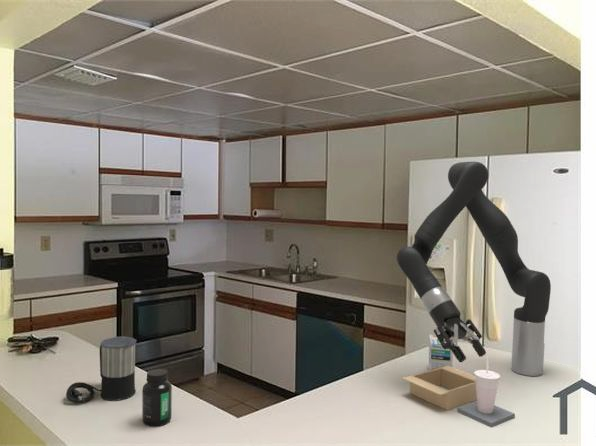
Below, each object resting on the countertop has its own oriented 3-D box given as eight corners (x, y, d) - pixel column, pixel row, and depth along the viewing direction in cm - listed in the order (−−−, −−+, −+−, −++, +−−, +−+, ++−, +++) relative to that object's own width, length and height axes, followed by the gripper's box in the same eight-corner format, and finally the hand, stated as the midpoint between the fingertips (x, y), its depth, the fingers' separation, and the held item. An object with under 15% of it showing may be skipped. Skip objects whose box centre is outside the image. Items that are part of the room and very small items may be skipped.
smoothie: (497, 407, 129) (500, 355, 128) (499, 417, 123) (502, 363, 122) (472, 403, 131) (474, 352, 130) (472, 413, 125) (474, 359, 124)
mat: (480, 403, 134) (480, 399, 134) (514, 417, 126) (514, 413, 126) (457, 411, 128) (457, 407, 128) (491, 427, 120) (491, 423, 120)
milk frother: (143, 392, 136) (143, 339, 135) (96, 413, 122) (96, 355, 121) (106, 382, 142) (107, 331, 142) (58, 401, 128) (58, 346, 128)
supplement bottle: (171, 425, 117) (172, 376, 116) (141, 428, 115) (142, 378, 114) (170, 413, 123) (171, 366, 123) (142, 416, 121) (142, 368, 121)
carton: (447, 381, 149) (447, 365, 149) (485, 397, 138) (486, 379, 138) (401, 395, 138) (402, 377, 138) (439, 413, 127) (440, 394, 127)
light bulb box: (452, 380, 151) (453, 345, 150) (429, 377, 152) (431, 343, 152) (448, 368, 161) (450, 335, 161) (427, 366, 163) (428, 334, 162)
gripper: (431, 302, 132) (465, 355, 124) (464, 296, 140) (498, 346, 132) (415, 317, 137) (447, 369, 128) (448, 311, 145) (480, 360, 136)
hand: (473, 357), depth 130 cm, fingers open, 8 cm apart
